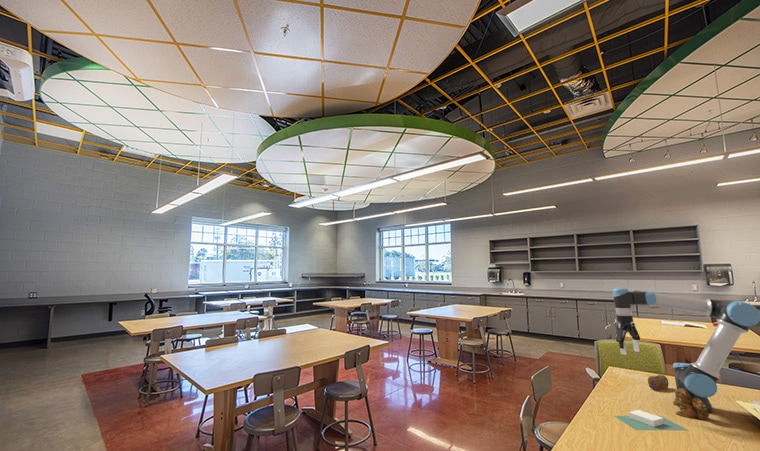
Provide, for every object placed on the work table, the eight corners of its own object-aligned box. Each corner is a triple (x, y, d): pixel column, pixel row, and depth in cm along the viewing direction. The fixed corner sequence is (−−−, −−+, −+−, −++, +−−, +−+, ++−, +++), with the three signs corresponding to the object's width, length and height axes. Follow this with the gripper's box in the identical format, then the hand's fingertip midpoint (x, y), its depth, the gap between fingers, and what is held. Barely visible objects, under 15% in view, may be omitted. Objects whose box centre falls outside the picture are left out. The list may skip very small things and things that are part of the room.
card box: (638, 409, 167) (663, 417, 157) (639, 415, 166) (664, 424, 156) (628, 412, 164) (653, 420, 154) (629, 418, 163) (654, 427, 153)
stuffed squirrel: (680, 410, 174) (676, 384, 176) (716, 419, 161) (710, 392, 164) (671, 413, 170) (667, 387, 172) (706, 424, 157) (701, 395, 160)
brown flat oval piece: (653, 391, 203) (650, 377, 205) (647, 389, 206) (645, 375, 208) (670, 388, 207) (667, 374, 209) (664, 387, 210) (662, 373, 212)
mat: (660, 416, 166) (660, 415, 166) (688, 431, 150) (688, 430, 150) (613, 416, 167) (613, 415, 167) (636, 431, 151) (636, 430, 151)
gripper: (628, 313, 196) (635, 349, 192) (604, 316, 185) (610, 354, 181) (643, 314, 189) (649, 351, 186) (619, 317, 179) (625, 356, 175)
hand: (630, 353), depth 184 cm, fingers open, 13 cm apart
